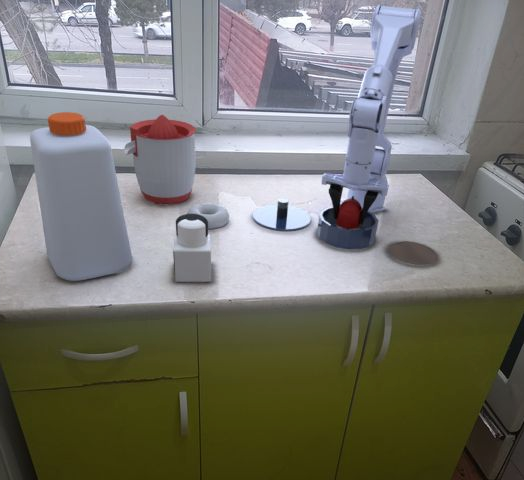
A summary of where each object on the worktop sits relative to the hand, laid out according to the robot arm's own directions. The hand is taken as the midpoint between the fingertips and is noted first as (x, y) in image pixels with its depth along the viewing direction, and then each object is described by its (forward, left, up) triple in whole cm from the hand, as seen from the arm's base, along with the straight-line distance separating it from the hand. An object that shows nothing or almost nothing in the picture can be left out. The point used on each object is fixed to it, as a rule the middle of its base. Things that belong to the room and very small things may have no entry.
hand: (348, 219), depth 118 cm
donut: (+26, -20, -5) cm, 33 cm away
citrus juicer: (+30, -38, -5) cm, 49 cm away
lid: (+9, -14, -4) cm, 17 cm away
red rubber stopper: (0, 0, -1) cm, 1 cm away
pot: (0, 0, -5) cm, 5 cm away
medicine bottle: (+39, 0, -5) cm, 39 cm away
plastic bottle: (+56, -13, -5) cm, 58 cm away
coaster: (-9, +13, -5) cm, 16 cm away
